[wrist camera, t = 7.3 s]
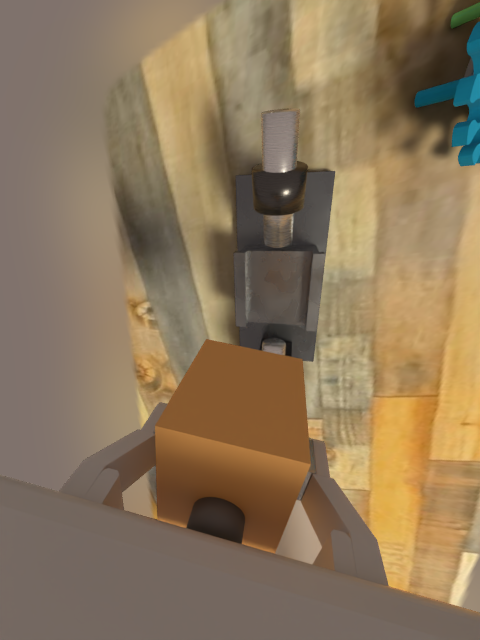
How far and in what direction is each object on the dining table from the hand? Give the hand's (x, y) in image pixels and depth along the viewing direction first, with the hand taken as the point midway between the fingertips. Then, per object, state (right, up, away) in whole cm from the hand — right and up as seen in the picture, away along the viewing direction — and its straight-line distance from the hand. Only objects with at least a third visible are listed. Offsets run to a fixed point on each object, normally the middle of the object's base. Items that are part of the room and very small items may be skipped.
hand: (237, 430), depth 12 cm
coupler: (0, +1, +2) cm, 2 cm away
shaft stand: (+5, +10, +17) cm, 20 cm away
